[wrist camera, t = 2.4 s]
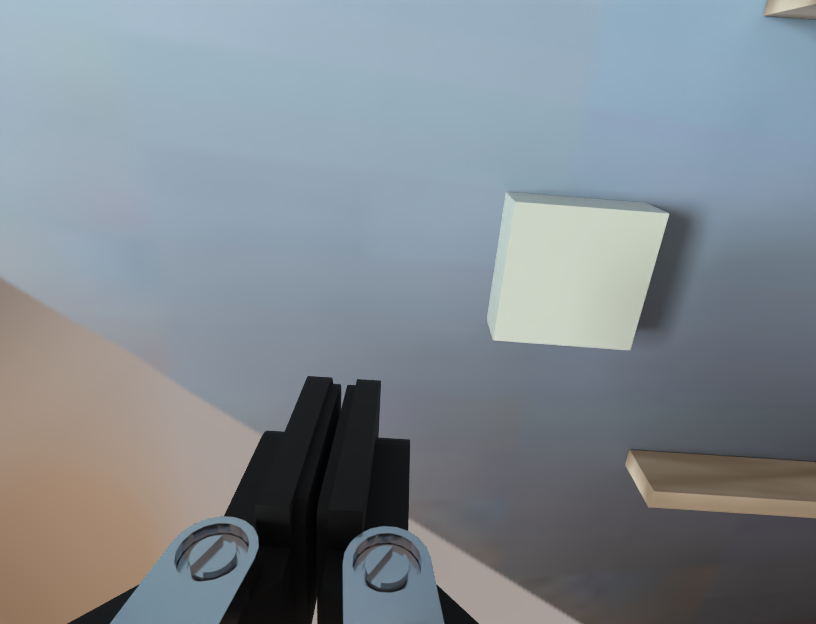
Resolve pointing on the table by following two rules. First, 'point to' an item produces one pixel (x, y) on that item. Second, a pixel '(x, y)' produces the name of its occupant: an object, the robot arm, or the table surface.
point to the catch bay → (725, 475)
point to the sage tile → (573, 270)
